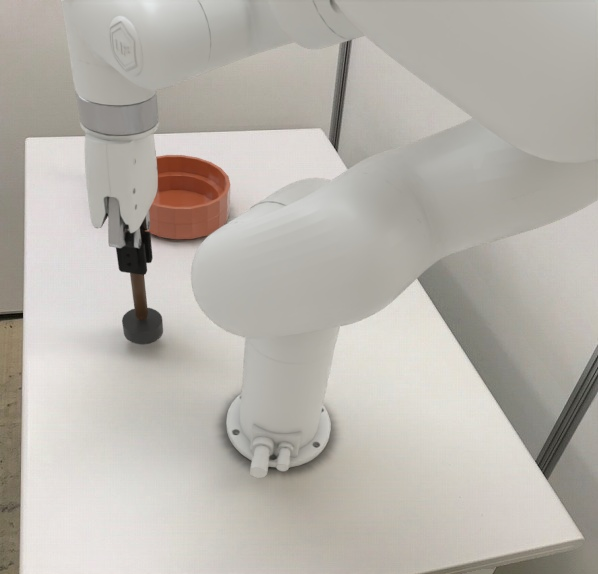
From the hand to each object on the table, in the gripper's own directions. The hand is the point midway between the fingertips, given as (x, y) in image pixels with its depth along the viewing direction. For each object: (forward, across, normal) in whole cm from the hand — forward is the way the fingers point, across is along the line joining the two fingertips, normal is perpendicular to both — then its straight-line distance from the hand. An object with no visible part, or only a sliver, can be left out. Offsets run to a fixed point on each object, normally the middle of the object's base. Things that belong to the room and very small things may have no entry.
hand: (136, 265), depth 76 cm
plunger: (+10, 0, 0) cm, 10 cm away
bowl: (+12, -31, -3) cm, 34 cm away
